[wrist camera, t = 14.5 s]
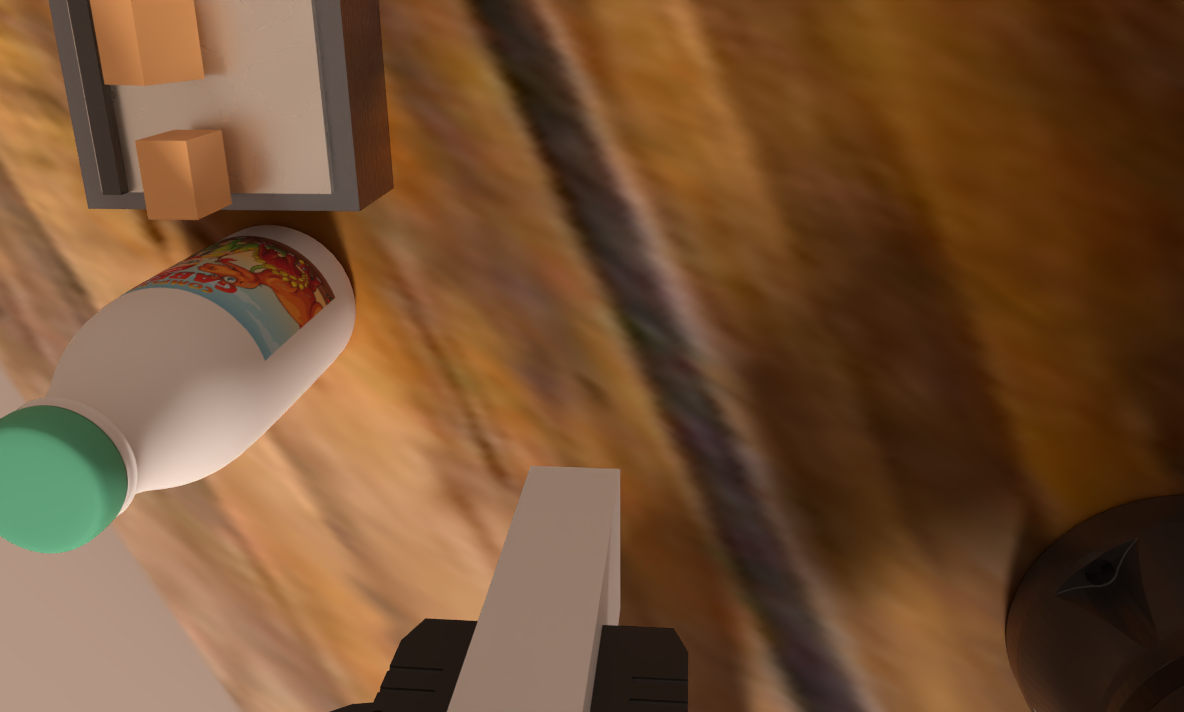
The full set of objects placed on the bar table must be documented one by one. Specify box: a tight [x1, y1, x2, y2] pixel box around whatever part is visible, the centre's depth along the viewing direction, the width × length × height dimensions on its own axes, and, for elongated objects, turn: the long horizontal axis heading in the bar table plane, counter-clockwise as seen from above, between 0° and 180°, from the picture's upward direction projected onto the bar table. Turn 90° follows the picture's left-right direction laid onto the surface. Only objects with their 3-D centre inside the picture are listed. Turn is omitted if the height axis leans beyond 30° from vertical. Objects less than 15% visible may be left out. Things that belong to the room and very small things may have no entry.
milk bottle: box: [0, 225, 356, 553], centre depth 40 cm, size 8×8×20 cm
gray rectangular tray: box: [49, 0, 393, 211], centre depth 42 cm, size 12×14×6 cm
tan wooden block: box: [135, 130, 232, 220], centre depth 39 cm, size 2×3×3 cm, turn 1°
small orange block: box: [90, 0, 205, 86], centre depth 38 cm, size 2×3×3 cm, turn 2°
